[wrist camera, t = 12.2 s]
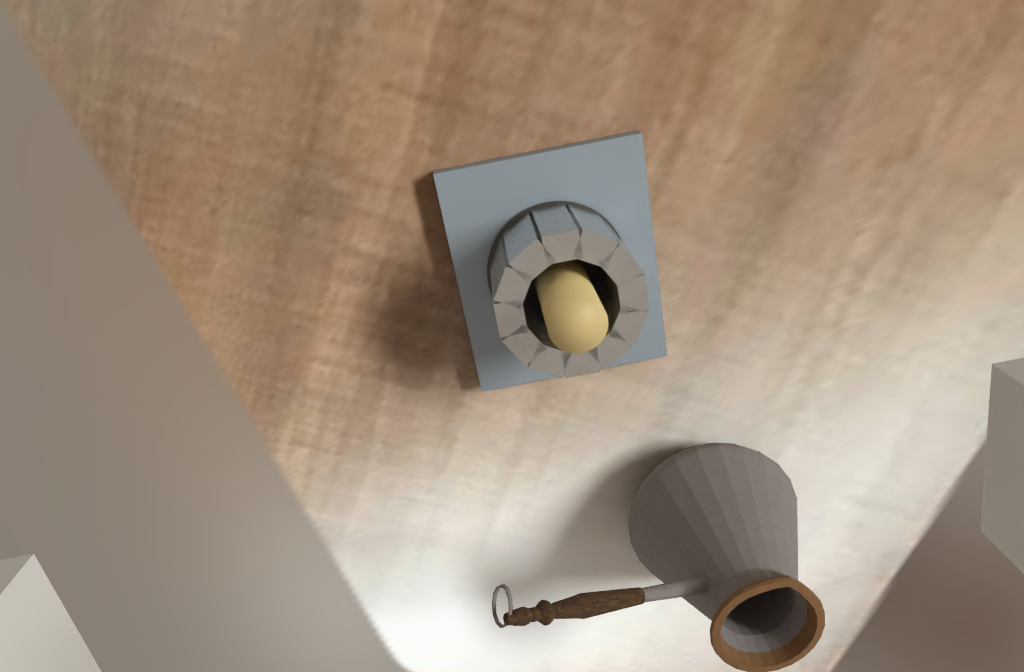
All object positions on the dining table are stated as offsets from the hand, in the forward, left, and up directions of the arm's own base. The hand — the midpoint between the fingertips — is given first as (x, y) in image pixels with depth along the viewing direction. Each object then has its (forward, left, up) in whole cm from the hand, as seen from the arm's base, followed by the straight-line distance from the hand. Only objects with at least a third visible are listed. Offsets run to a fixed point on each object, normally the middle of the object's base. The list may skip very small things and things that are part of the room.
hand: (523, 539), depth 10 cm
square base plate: (+7, +3, -35) cm, 36 cm away
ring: (+7, +3, -34) cm, 35 cm away
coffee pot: (+24, +6, -35) cm, 43 cm away
